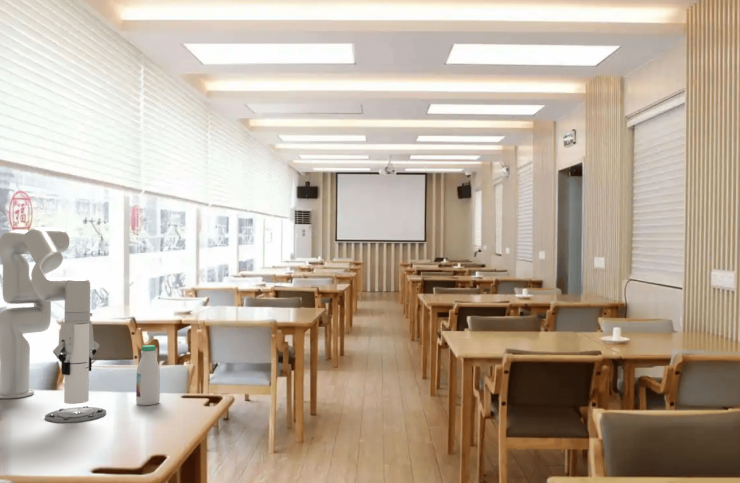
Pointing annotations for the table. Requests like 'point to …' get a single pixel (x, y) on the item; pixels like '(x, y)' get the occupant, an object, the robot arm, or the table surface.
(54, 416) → the flange
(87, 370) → the cylindrical container
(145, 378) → the milk bottle
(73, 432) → the table surface
